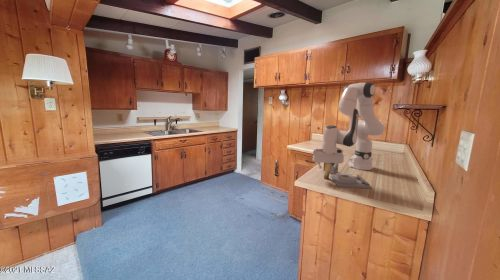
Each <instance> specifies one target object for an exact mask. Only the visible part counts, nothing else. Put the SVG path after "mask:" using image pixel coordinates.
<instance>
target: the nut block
mask: <svg viewBox="0 0 500 280" xmlns="http://www.w3.org/2000/svg"><path fill="white" fill-rule="evenodd" d="M330 178H331V179H332V181H333V182H334V183H335V184H336V186H337V187H338V188H350V189H351V188H352V189H370V190H372V189H373V187H372V186H371V185H370V183H368V181H366V180H365V179H364V178H363V177H362V176H360V174H356V176H354V175H352V173H338V172H337V173H335V174H334V175H333V174H331V175H330Z"/></svg>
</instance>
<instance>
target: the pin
mask: <svg viewBox="0 0 500 280" xmlns="http://www.w3.org/2000/svg"><path fill="white" fill-rule="evenodd" d="M329 172H330V163H325V171H323V173H324V174H323V179H324V180H329V179H330V173H329Z"/></svg>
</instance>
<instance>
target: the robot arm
mask: <svg viewBox="0 0 500 280" xmlns="http://www.w3.org/2000/svg"><path fill="white" fill-rule="evenodd" d="M375 93H376V85H375V84H374V83H373V82H370V81H369V82H368V81H367V82H357V83H349V84H346V85H345V86H344V87H343V89H342V93H341V95H340V98H339V101H338V106H337V107H338V108H337V109H338V110H339V112H340V113H342V115H345V116H347V117H348V118H349V128H348V130H340V129H339V128H338V126H336V125H335V124H333V125H332V124H331V125H330V124H329V125H326V126H325V127H324V131H323V136H322V137H323V138H322V139H323V142H322V146H321V148H315V149H314V150H313V151H312V153H313V154H312V155H313V156H312V161H313V162H314V163H317V165H318V169H320V170H321V169H322V168H323V166H322V165H321V164H322V163H323V164H324V163H334V164H335V165H334V166H333V167H332V169H335V167H336V166H337V165H338V166H339V164H343V163H344V150H343V149H341V148H340V147H337V145H341V146H342V145H343V146H346V147H349V148H350V147H353V146H354V145H356V146H355V151H354V154H353V155H352V156H351V157H349V161H347V162H346V163H347V165H348V166H349V168H353V169H355V170H356V169H357V170H361V171H371V170H372V169H374V168H375V167H374V166H373V157H372V155H373V154H372V153H373V152H372V151H373V150H372V148H373V142H372V140H370V139H369V137H368V136H381V135H383V133H384V131H385V124H383V123H382V122H381V121H380V120H379V119H378V118H377V116H376V114H375V108H374V107H375V106H374V97H373V96H374V95H375ZM359 117H360V118H362V120H361V119H359Z"/></svg>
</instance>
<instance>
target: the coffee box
mask: <svg viewBox="0 0 500 280" xmlns="http://www.w3.org/2000/svg"><path fill="white" fill-rule="evenodd" d="M334 165H335V164H334V163H330V172H329V174H332V175H333V174H334V175H336V173H338V172H339V164H338V165H337V166H336V167H335V169H332V167H333V166H334ZM323 172H325V163H323Z"/></svg>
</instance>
